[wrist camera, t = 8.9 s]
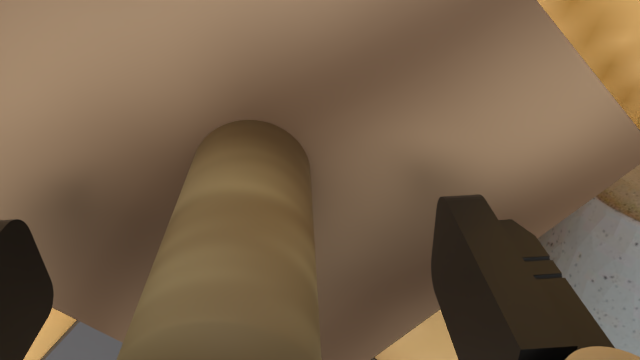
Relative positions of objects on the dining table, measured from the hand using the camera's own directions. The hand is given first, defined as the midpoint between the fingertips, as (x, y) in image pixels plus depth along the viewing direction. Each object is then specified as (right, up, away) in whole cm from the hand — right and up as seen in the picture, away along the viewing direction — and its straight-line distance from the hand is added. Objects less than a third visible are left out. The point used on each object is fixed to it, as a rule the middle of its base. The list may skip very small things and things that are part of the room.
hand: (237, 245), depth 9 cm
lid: (0, +2, +3) cm, 4 cm away
